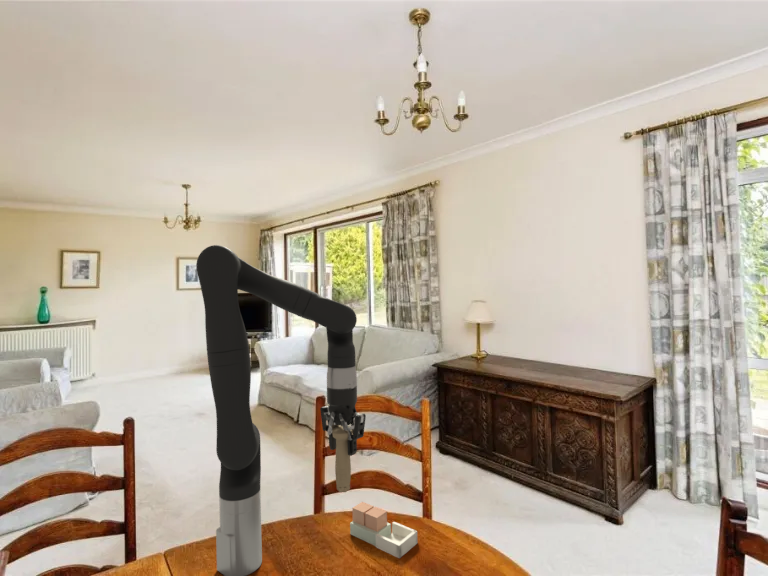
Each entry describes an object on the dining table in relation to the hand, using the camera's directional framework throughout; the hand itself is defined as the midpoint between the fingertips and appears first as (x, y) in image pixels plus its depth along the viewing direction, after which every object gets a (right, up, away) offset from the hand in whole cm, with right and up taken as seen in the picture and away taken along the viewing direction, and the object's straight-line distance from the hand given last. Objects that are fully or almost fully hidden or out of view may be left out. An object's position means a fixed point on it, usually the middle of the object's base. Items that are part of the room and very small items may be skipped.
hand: (342, 451), depth 104 cm
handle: (0, -10, 0) cm, 10 cm away
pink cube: (+5, -21, +7) cm, 22 cm away
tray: (+14, -24, 0) cm, 27 cm away
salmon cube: (+8, -21, +4) cm, 23 cm away
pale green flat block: (+7, -24, +5) cm, 25 cm away
